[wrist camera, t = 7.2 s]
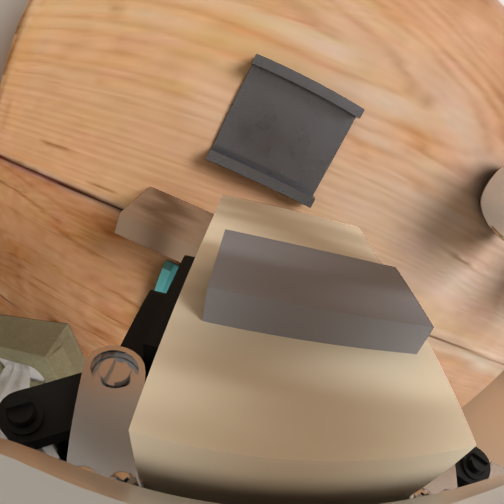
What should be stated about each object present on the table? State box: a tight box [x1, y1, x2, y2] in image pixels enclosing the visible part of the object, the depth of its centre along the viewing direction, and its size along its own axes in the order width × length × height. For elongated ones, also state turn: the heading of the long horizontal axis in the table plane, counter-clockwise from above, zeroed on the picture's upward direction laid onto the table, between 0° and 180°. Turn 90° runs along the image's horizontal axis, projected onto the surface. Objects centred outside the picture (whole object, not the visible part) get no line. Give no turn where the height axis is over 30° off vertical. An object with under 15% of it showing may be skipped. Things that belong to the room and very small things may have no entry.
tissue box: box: [0, 315, 86, 402], centre depth 37 cm, size 19×10×16 cm, turn 93°
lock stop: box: [129, 195, 476, 504], centre depth 8 cm, size 4×7×8 cm
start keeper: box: [206, 54, 364, 207], centre depth 28 cm, size 11×11×2 cm
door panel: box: [115, 187, 214, 263], centre depth 30 cm, size 20×2×8 cm, turn 65°
